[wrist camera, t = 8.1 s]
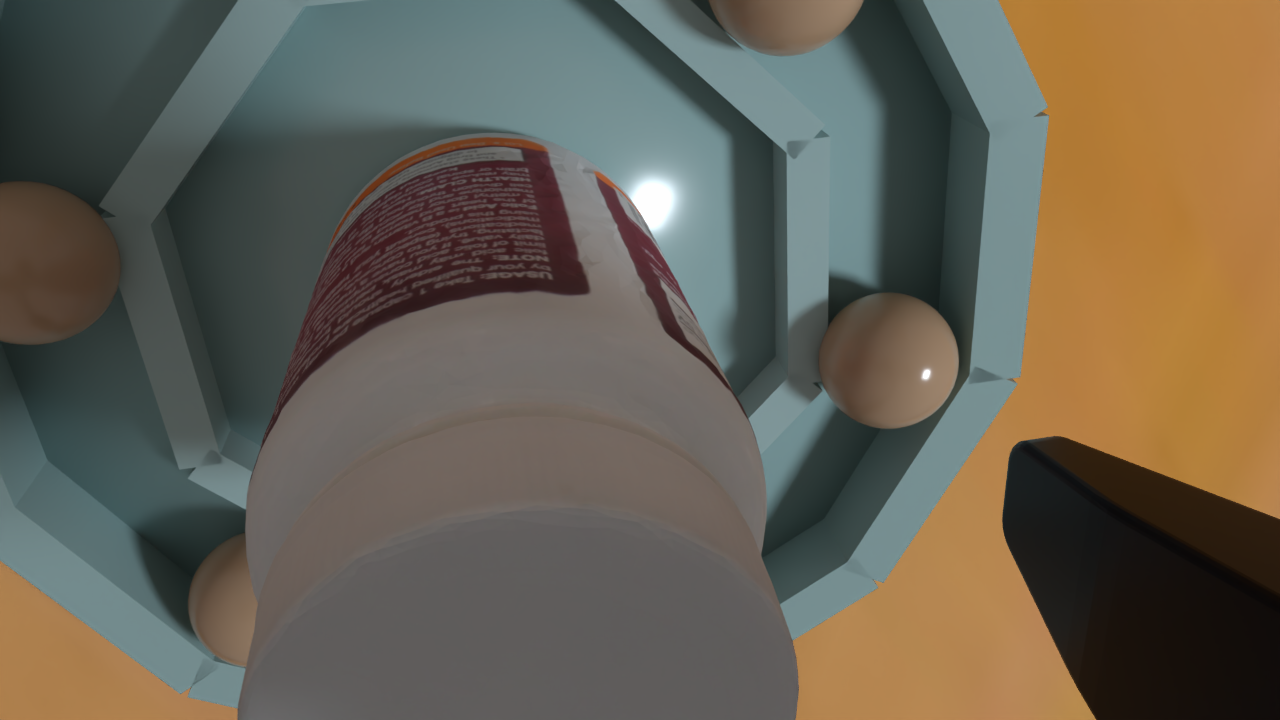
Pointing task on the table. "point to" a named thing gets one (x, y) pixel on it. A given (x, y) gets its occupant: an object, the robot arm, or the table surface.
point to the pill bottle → (507, 468)
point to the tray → (470, 104)
